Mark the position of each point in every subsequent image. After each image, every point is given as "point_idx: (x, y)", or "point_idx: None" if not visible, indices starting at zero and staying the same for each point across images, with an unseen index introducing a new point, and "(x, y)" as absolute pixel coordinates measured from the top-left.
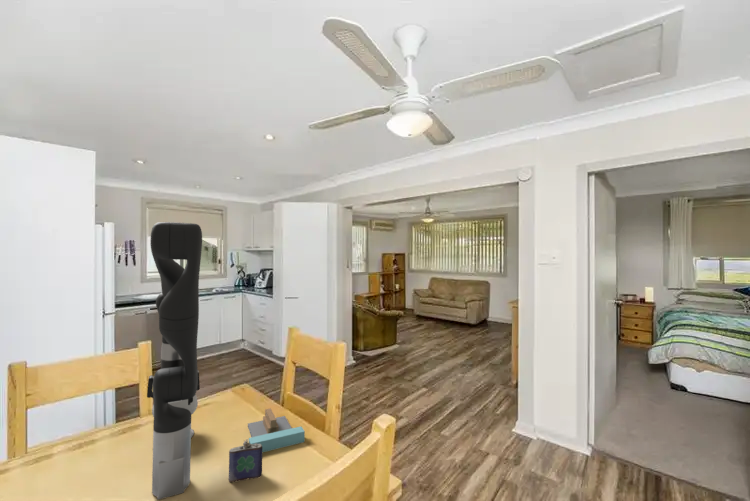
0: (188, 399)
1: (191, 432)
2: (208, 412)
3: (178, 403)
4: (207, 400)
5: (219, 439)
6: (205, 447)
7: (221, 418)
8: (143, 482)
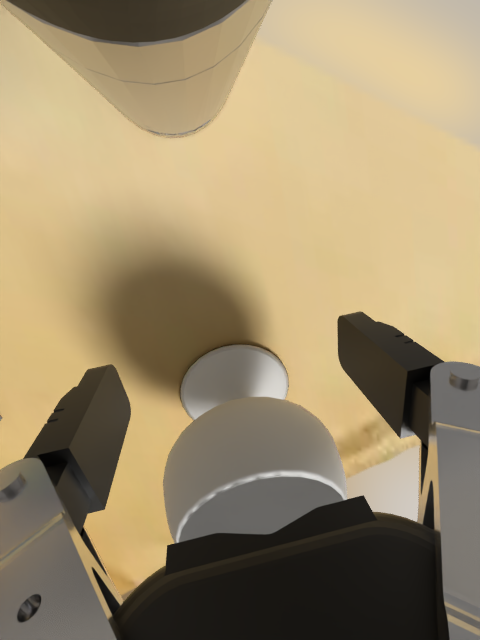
0: (89, 397)
1: (188, 399)
2: None
3: (234, 467)
4: None
5: (81, 353)
6: (116, 313)
7: (119, 466)
8: (276, 136)
